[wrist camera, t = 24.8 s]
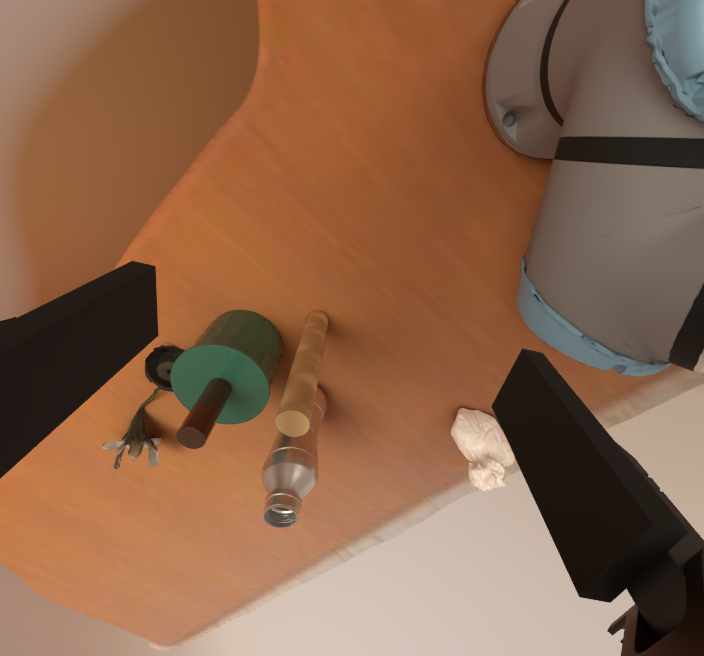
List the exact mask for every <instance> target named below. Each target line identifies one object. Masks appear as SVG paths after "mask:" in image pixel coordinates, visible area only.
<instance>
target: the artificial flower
mask: <svg viewBox="0 0 704 656" xmlns="http://www.w3.org/2000/svg"><path fill="white" fill-rule="evenodd" d="M153 349H154V351H153V352H152V353H150V355H149V356H148V357H147V358H146V361H145V363H146V364H145V374H146V377H147V378H148V379H149V381H150V382H153V383H154V384H156V385H157V386H158V388H157V389H155V390H154V392H153V395H151V396H150V397H149V398H148V399H147V400H146V401H145V402H144V403H143V404H141V406H140V407H139V410H138V411H137V413H136V415H135V416H134V418H133V419H132V421H131V424H130V427H129V429H128V432H127V433H126V435H125V436H124V437H123V438H122V440H121V441H114V442H110V443H108V444H106V445H104V444H103V446H102V449H107V450H115V449H118V451H117V453H116V457H115V462H114V464H113V467H114V468H115V469H118V468H119V466H120V463H119V465H118V460H119V458H120V460H121V457H122V454H123V452H124V449H125V448H130V450H129V451H128V454H129V455H130V456H131V457H132V460H133V461H134V462H135V461H136V459H137V457H138V456H139V455H140V454H141V452H142V449H143V448H148V449H149V456H148V464H149V466H151V467H155V466H157V465H158V463H159V454H158V453H157V447H156V446H157V445H158V443H159V442H161V440H162V438H152V439H150V438H149V436H148V434H147V428H146V423H145V422H146V421H145V417H144V416H143V407H144V406H145V405H146V404H147V403H148V402H150V401H151V400H152V399H153V398H154V397H155V395H156V394H157V393H158V391H159V390H161V389H162V390H165V391H171V392H173V389H172V385H171V379H170V376H171V369H172V366H173V364H174V362H175V361H176V359H177V358H178V357H179V356H180V355H181V354H182V353H183V352H184V351H183V350H179V349H176V348H173V347H169V346H167V347H166V346H164V345H161V347H159V348H157V347H156V348H153ZM117 466H118V468H117Z"/></svg>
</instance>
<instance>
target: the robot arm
mask: <svg viewBox="0 0 704 656" xmlns="http://www.w3.org/2000/svg"><path fill="white" fill-rule="evenodd" d="M483 100H484V107H485V111H486V115H487V117H488V120H489V123H490V125H491V127H492V129H493V130H494V132H495V134H496V135H497V136H498V137H499V139H500V140H501V141H502V142H503V143H504V144H505V145H507V146H508V147H509V148H510V149H512V150H514V151H515V152H517V153H520V154H522V155H525V156H529V157H534V158H546V159H550V158H554V159H553V161H552V165H551V168H550V172H549V175H548V179H547V182H546V186H545V189H544V193H543V196H542V200H541V203H540V207H539V210H538V214H537V217H536V221H535V224H534V228H533V231H532V235H531V238H530V242H529V245H528V249H527V252H526V255H525V256H524V257H523V259H522V263H521V272H522V274H521V279H520V283H519V288H518V292H517V298H516V302H517V308H518V310H519V312H520V314H521V316H522V320H523V321H524V323H525V324H526V325H527V326H528V328H529V329H530V330H531V331H532V332H533V333H534V334H535V335H536V336H538V337H539V338H540V339H541V340H542V341H544V342H545V343H547V344H548V345H550V346H551V347H553V348H554V349H556V350H558V351H559V352H561V353H563V354H565V355H567V356H568V357H571V358H573V359H575V360H577V361H579V362H581V363H584V364H586V365H589V366H592V367H595V368H598V369H601V370H605V371H607V370H609V369H611V368H612V369H614V370H615V371H617V372H618V373H620V374H622V375H629V376H647V375H652V374H656V373H658V372H660V371H662V370H663V369H665V368H668V367H669V366H671V365H672V364H675V365H678V366H680V367H683V368H686V369H688V370H691V371H694V372H696V373H699V374H704V0H518V1H517V2H516V3H515V4H514V5H513V7H512V8H511V9H510V11H509V12H508V13H507V15H506V16H505V18H504V19H503V21H502V23H501V24H500V26H499V28H498V30H497V32H496V34H495V36H494V38H493V41H492V43H491V46H490V49H489V51H488V55H487V59H486V63H485V68H484V75H483ZM157 336H158V318H157V294H156V271H155V266H152V265H148V264H143V263H139V262H135V261H131V262H129V263H127V264H125V265H123V266H121V267H119V268H117V269H115V270H113V271H111V272H109V273H107V274H105V275H103V276H101V277H99V278H97V279H95V280H93V281H91V282H89V283H87V284H85V285H83V286H81V287H79V288H77V289H75V290H73V291H71V292H69V293H67V294H65V295H63V296H60V297H58V298H56V299H54V300H52V301H50V302H49V303H46V304H44V305H42V306H40V307H39V308H36V309H34V310H32V311H30V312H28V313H26V314H24V315H22V316H20V317H18V318H16V317H14V318H11V319H7V320H3V321H0V478H1V477H2V476H4V475H5V474H6V473H7V472H8V471H9V470H10V469H11V468H12V467H14V466H15V465H16V464H17V463H18V462H19V461H20V460H21V459H22V458H23V457H25V456H26V455H27V454H28V453H29V452H30V451H31V450H32V449H33V448H34V447H36V446H37V445H38V444H39V443H40V442H41V441H42V440H43V439H44V438H46V437H47V436H48V435H49V434H50V433H51V432H52V431H53V430H54V429H55V428H57V427H58V426H59V425H60V424H61V423H62V422H63V421H64V420H65V419H67V418H68V417H69V416H70V415H71V414H72V413H73V412H74V411H75V410H76V409H78V408H79V407H80V406H81V405H82V404H83V403H84V402H85V401H86V400H88V399H89V398H90V397H91V396H92V395H93V394H94V393H95V392H96V391H97V390H99V389H100V388H101V387H102V386H103V385H104V384H105V383H106V382H107V381H108V380H110V379H111V378H112V377H113V376H114V375H115V374H116V373H117V372H118V371H120V370H121V369H122V368H123V367H124V366H125V365H126V364H127V363H128V362H129V361H131V360H132V359H133V358H134V357H135V356H136V355H137V354H138V353H139V352H141V351H142V350H143V349H144V348H145V347H146V346H147V345H148V344H149V343H150V342H152V341H153V340H154V339H155V338H156V337H157ZM492 408H493V411H494V413H495V415H496V417H497V419H498V421H499V424H500V426H501V428H502V430H503V432H504V434H505V437H506V439H507V441H508V443H509V445H510V447H511V450H512V452H513V454H514V456H515V458H516V460H517V463H518V465H519V467H520V469H521V471H522V473H523V476H524V478H525V480H526V482H527V484H528V486H529V489H530V491H531V493H532V495H533V497H534V500H535V502H536V504H537V506H538V508H539V510H540V512H541V515H542V517H543V519H544V521H545V523H546V526H547V528H548V530H549V532H550V534H551V536H552V538H553V541H554V543H555V545H556V547H557V549H558V552H559V554H560V556H561V558H562V560H563V562H564V565H565V567H566V569H567V571H568V573H569V575H570V577H571V580H572V582H573V584H574V586H575V589H576V590H577V593H578V595H579V597H582V598H588V599H593V600H599V601H604V602H612V601H613V600H614V599H615V598H616V597H617V596H618V595H619V594H621V593H622V592H623V591H624V590H625V589H626V588H627V590H628V592H629V594H630V595H631V597H632V599H633V600H634V602H635V605H634V606H632V607H631V608H630V609H629V610H628V611H626V612H625V613H624V614H623V615H622V616H620V617H619V618H618V619H617V620H616V621H614V622H613V623H612V624H611V625H610V627H609V629H608V632H609V633H610V634H612V635H614V634H615V633H616V632H617V631H619V630H620V629H625V630H624V637H623V639H622V640H621V643H622V644H623V645H622V652H621V656H704V540H703V539H702V538H701V537H700V535H699V534H698V533H697V532H696V531H695V530H694V528H693V527H692V526H691V525H690V523H689V522H688V521H687V520H686V519H685V518H684V516H683V515H682V514H681V513H680V512H679V510H678V509H677V508H676V507H675V506H674V504H673V503H672V502H671V501H670V500H669V499H668V497H667V496H666V495H665V494H664V492H661V491H660V488H659V487H658V485H657V484H656V483H655V482H654V481H653V479H652V478H650V477H648V474H647V472H646V471H645V470H644V469H643V468H642V466H641V465H640V464H639V463H638V462H637V460H636V459H635V458H634V457H633V456H632V455H630V454H629V453H628V452H627V451H626V450H624V449H623V448H622V447H621V446H620V445H618V444H617V443H616V442H615V441H614V440H613V439H612V437H611V436H610V435H609V434H608V433H607V431H606V430H605V429H604V428H603V426H602V425H601V424H600V423H599V422H598V420H597V419H596V418H595V417H594V415H593V414H592V413H591V412H590V411H589V409H588V408H587V407H586V406H585V404H584V403H583V402H582V401H581V400H580V398H579V397H578V396H577V395H576V394H575V392H574V391H573V390H572V389H571V387H570V386H569V385H568V384H567V383H566V381H565V380H564V379H563V378H562V376H561V375H560V374H559V373H558V372H557V370H556V369H555V368H554V367H553V365H552V364H551V363H550V362H549V361H548V359H547V358H546V357H545V356H544V354H543V353H540V352H536V351H531V350H527V349H522V350H521V352H520V354H519V356H518V358H517V360H516V361H515V363H514V365H513V367H512V369H511V371H510V373H509V375H508V376H507V378H506V380H505V382H504V384H503V386H502V388H501V390H500V391H499V393H498V395H497V397H496V399H495V401H494V403H493V405H492Z"/></svg>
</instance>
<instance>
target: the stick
mask: <svg viewBox="0 0 704 656" xmlns="http://www.w3.org/2000/svg"><path fill="white" fill-rule="evenodd" d="M328 322H329V320H328V317H327V315H326V314H325V313H324V312H322V311H319V310H315V311H312V312H310V313H309V314H308V316H307V318H306V322H305V325H304V328H303V332H302V335H301V338H300V341H299V345H298V348H297V351H296V355H295V358H294V361H293V364H292V368H291V371H290V374H289V377H288V381H287V384H286V387H285V391H284V394H283V397H282V400H281V404H280V407H279V410H278V413H277V417H276V420H275V424H276V427H277V429H278V430H279V431H280V432H281V433H283V434H284V435H287V436H291V437H298V436H301V435H304V434H305V433H306V432H307V431H308V430H309V428H310V424H311V418H312V412H313V407H314V401H315V395H316V390H317V384H318V378H319V373H320V367H321V361H322V356H323V350H324V344H325V339H326V333H327V327H328Z"/></svg>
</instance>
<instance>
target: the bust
mask: <svg viewBox="0 0 704 656" xmlns="http://www.w3.org/2000/svg"><path fill="white" fill-rule="evenodd" d="M451 436H452V437H453V438H454V439H455V442H456V443H457V445H458V448H459V450H461V452H462V453H463V455H464V456H465V457H466V458H467V459H468V460H469V461H471V462H473V463H474V464H472V463H469V472H468V474H469V478H470V483H471V484H472V485H473V486H475V487H478V488H479V489H481V490H482V491H489V490H491V489H493V488H498V487H505V486H506V485H505V482H504V477H503V476H504V473H505V472H506V471H505V467H504V466H510V465H511V464H512V463H514V462H515V456H514V454H513V452H512V450H511V447H510V445H509V443H508V441H507V439H506V437H505V434H504V432H503V430H502V429H501V427H500V426H499V424H498V423H497V421H496V419H495V418H494V417H492V416H490V415H488V414H485V413H483V412H481V411H479V410H469V409H465V408H460V409H459V410H458V412H457V416H456V420H455V421H454V423H453V425H452V429H451Z"/></svg>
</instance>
